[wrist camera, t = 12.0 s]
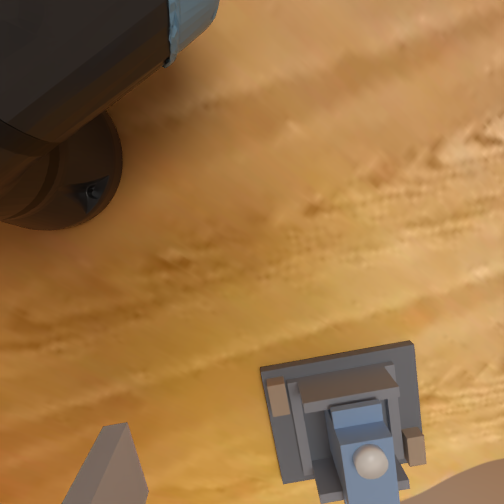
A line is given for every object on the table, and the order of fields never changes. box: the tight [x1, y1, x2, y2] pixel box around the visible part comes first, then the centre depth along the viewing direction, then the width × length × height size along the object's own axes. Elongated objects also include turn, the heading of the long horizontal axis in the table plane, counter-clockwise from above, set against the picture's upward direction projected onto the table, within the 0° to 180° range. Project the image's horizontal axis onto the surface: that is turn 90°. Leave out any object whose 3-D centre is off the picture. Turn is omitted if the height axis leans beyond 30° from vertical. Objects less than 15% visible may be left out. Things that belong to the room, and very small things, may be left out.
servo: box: [324, 399, 400, 504], centre depth 35 cm, size 5×12×9 cm, turn 11°
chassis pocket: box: [260, 341, 426, 504], centre depth 38 cm, size 18×16×6 cm
